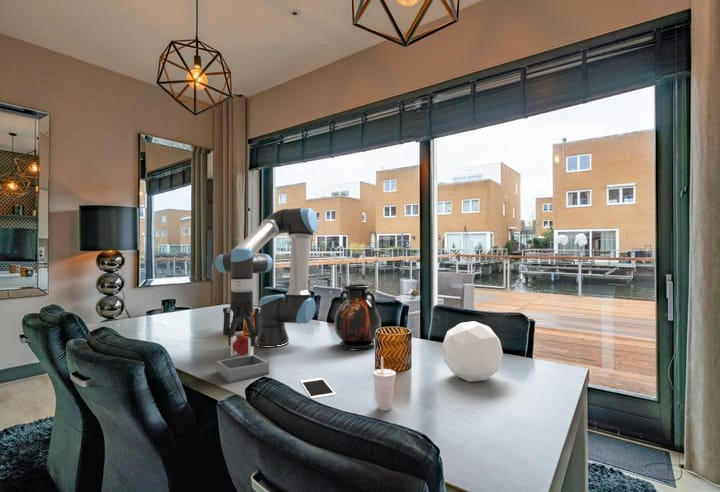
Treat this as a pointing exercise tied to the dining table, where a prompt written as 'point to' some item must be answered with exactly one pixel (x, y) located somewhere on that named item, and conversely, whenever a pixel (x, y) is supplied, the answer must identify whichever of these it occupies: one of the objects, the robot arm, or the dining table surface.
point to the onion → (241, 345)
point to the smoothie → (384, 387)
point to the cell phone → (317, 388)
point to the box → (242, 368)
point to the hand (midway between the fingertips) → (242, 355)
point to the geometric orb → (472, 351)
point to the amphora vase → (357, 318)
